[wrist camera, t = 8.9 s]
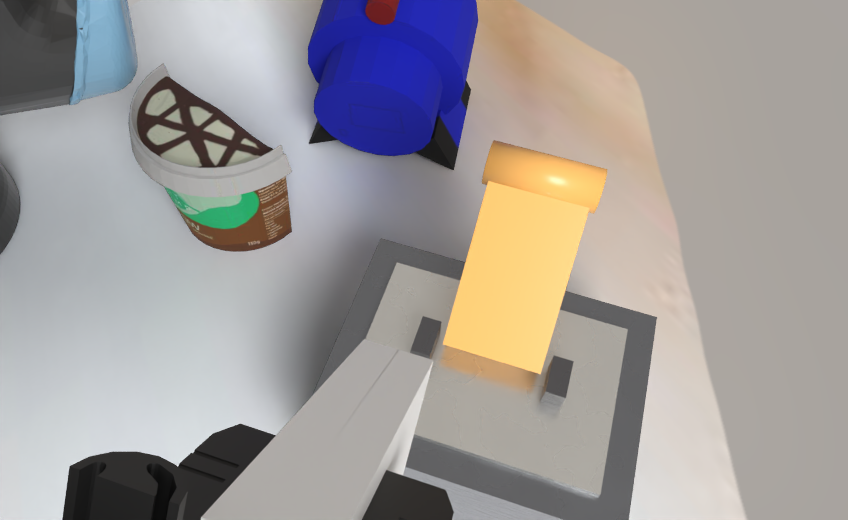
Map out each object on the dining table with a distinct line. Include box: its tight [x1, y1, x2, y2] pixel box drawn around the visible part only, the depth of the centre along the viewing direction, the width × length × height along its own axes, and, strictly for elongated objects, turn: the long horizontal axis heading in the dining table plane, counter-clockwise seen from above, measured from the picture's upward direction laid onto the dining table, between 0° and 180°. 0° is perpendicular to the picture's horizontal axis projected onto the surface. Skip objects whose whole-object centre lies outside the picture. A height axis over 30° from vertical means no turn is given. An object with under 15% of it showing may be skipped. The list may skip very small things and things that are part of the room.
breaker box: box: [312, 239, 657, 520], centre depth 37 cm, size 12×16×11 cm
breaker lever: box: [443, 140, 607, 374], centre depth 33 cm, size 2×6×10 cm
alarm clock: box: [308, 0, 478, 170], centre depth 50 cm, size 12×12×15 cm
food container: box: [129, 64, 292, 252], centre depth 45 cm, size 12×6×10 cm, turn 51°
